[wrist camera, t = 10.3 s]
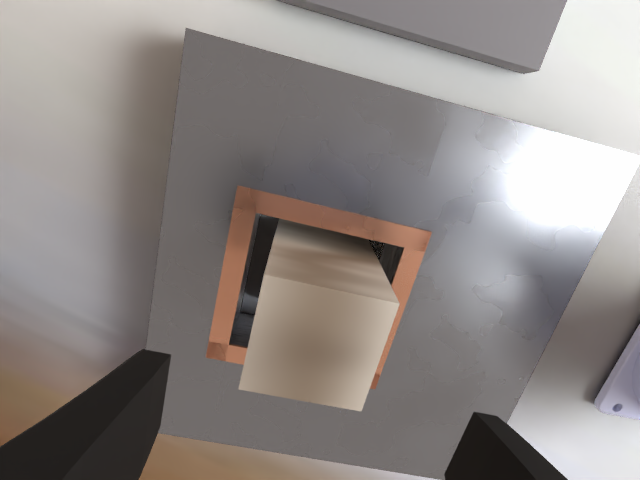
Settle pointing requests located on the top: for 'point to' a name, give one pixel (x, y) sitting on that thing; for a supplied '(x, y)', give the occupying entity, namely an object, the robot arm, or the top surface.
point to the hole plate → (375, 224)
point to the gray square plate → (459, 25)
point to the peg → (319, 318)
